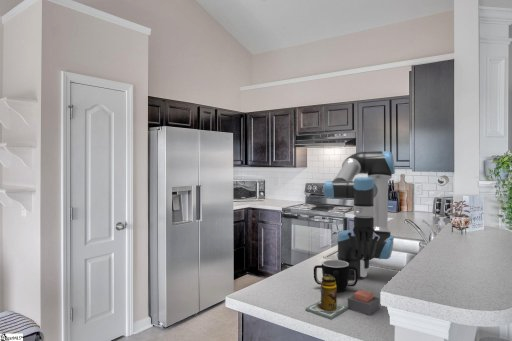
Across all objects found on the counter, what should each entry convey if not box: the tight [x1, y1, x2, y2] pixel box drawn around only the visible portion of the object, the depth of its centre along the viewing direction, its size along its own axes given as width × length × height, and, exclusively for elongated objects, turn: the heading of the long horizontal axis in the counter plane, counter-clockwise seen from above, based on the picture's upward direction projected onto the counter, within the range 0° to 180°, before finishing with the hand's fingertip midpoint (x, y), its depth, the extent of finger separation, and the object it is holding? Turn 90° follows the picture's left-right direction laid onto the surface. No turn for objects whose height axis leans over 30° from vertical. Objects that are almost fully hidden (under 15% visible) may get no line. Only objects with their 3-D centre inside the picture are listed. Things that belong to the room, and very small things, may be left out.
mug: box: [313, 259, 359, 293], centre depth 157 cm, size 16×16×12 cm
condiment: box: [314, 276, 338, 312], centre depth 135 cm, size 7×8×12 cm
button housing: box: [347, 295, 381, 316], centre depth 136 cm, size 9×9×4 cm
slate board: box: [305, 300, 349, 320], centre depth 135 cm, size 13×12×1 cm
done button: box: [353, 289, 374, 303], centre depth 136 cm, size 5×5×3 cm
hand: (363, 275), depth 136 cm, fingers closed
